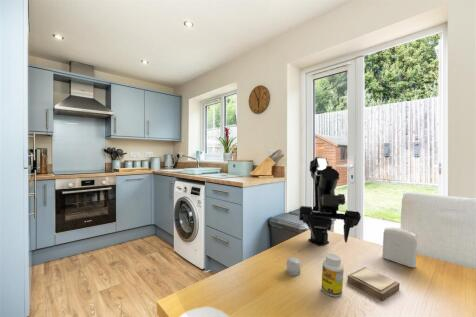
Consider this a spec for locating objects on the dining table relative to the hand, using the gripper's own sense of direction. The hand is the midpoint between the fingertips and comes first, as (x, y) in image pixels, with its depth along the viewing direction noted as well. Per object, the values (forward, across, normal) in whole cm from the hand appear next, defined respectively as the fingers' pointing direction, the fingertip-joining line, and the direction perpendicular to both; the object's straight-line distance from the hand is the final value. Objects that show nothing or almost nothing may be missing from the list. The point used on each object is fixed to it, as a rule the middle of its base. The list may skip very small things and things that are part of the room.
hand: (330, 240), depth 69 cm
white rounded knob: (+8, -11, +9) cm, 16 cm away
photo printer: (-5, +27, +23) cm, 36 cm away
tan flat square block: (+9, +13, +9) cm, 18 cm away
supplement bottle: (+13, 0, +5) cm, 14 cm away
